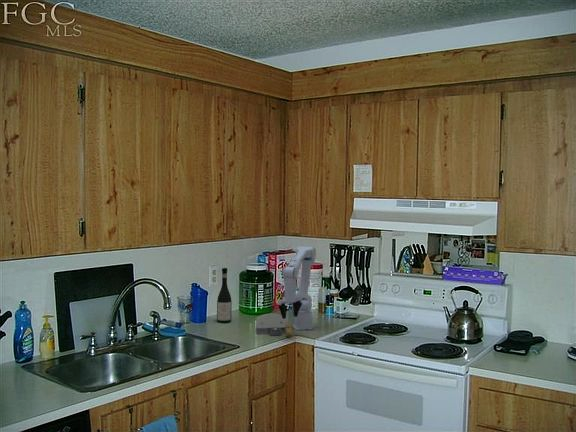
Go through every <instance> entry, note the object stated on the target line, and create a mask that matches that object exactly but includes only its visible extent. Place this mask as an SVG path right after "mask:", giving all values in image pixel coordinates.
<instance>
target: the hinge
mask: <svg viewBox="0 0 576 432" xmlns="http://www.w3.org/2000/svg"><path fill="white" fill-rule="evenodd" d="M285 324H287V321H286V319H283V318H282V315H281V313H280V314H279V313H264V314H261V315H258V316H257V317H256V319H255V329H256V328H270V327H285Z"/></svg>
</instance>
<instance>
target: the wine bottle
mask: <svg viewBox="0 0 576 432" xmlns="http://www.w3.org/2000/svg"><path fill="white" fill-rule="evenodd" d="M221 278H222V279H221V287H220V291H219V293H218V296H217V300H216V321H217V322H218V323H221V324H222V323H223V324H227V323H230V322H231V321H232V309H233V308H232V307H233V306H232V304H233V303H232V302H233V301H232V296H231V293H230V291H229V287H228V268H227V267H222V268H221Z"/></svg>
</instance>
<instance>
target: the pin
mask: <svg viewBox="0 0 576 432" xmlns="http://www.w3.org/2000/svg"><path fill="white" fill-rule="evenodd" d="M293 325H294V324H292V323H286V324H285V327H286V333H285V338H287V339H291V338H293V333H292V327H293ZM293 328H294V327H293Z"/></svg>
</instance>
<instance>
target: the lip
mask: <svg viewBox="0 0 576 432" xmlns="http://www.w3.org/2000/svg"><path fill="white" fill-rule="evenodd" d="M293 333H294V327H292V334H293ZM283 334H286V327H270V328H256V327H255V335H269V336H270V337H274V336H276V337H277V336H282V335H283Z"/></svg>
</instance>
